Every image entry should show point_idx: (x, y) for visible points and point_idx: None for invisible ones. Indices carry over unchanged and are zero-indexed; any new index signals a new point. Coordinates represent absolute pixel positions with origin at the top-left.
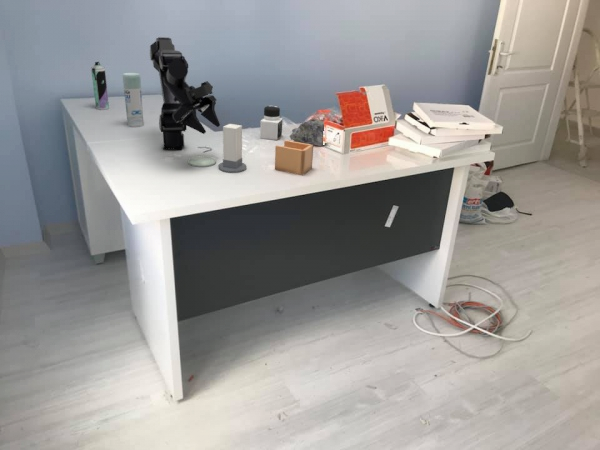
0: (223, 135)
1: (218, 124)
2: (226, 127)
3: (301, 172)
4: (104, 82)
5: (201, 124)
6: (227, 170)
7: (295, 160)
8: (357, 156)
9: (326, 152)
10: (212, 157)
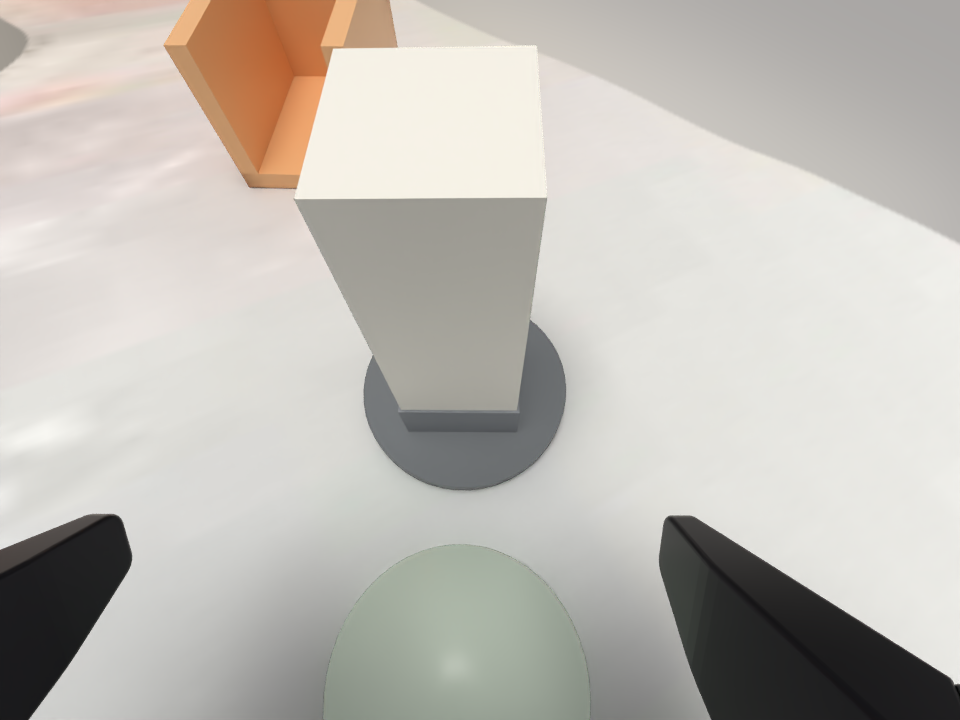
0: (532, 285)
1: (100, 536)
2: (542, 151)
3: None
4: None
5: (793, 623)
6: (563, 374)
7: (383, 37)
8: (64, 3)
9: (13, 93)
10: (343, 630)
